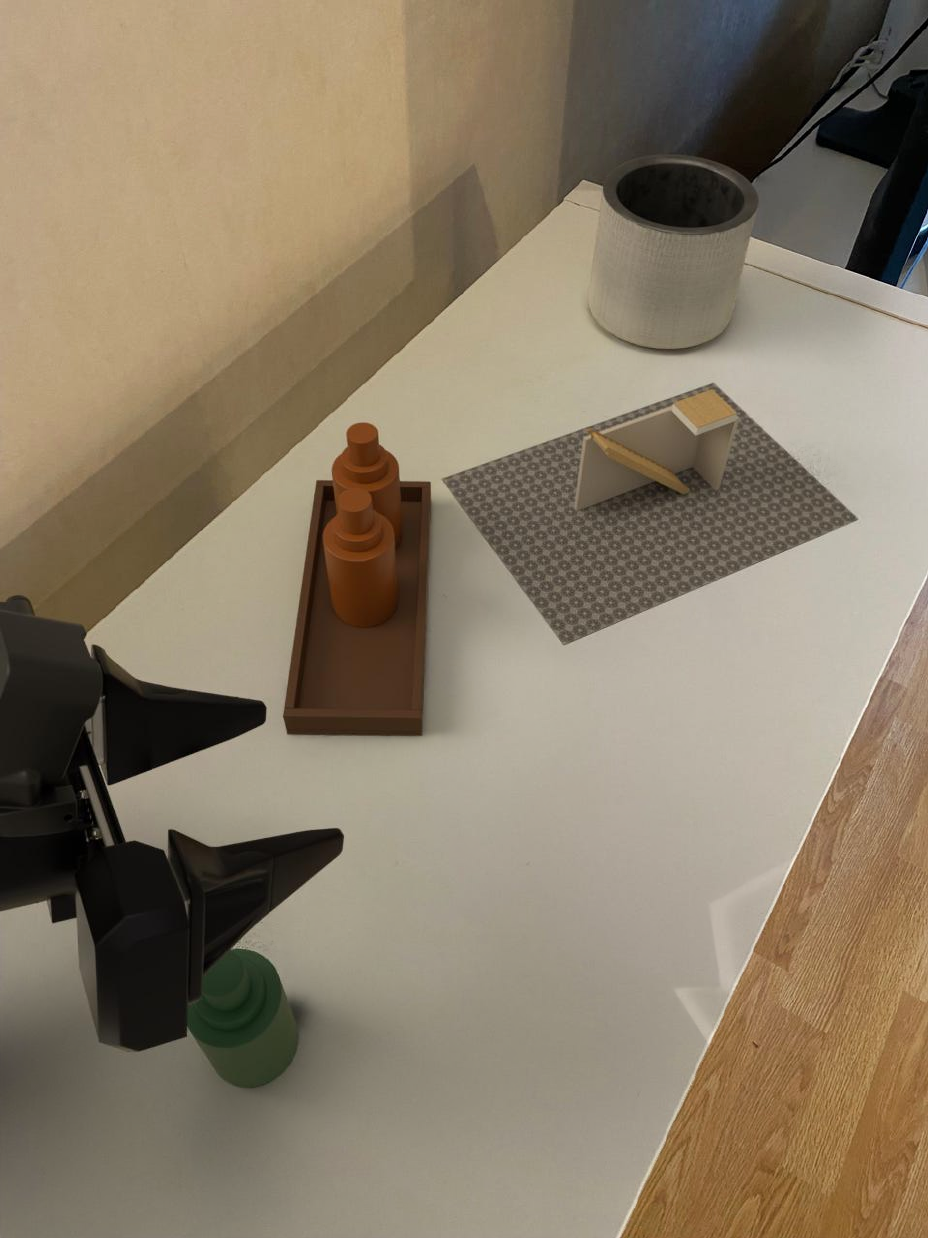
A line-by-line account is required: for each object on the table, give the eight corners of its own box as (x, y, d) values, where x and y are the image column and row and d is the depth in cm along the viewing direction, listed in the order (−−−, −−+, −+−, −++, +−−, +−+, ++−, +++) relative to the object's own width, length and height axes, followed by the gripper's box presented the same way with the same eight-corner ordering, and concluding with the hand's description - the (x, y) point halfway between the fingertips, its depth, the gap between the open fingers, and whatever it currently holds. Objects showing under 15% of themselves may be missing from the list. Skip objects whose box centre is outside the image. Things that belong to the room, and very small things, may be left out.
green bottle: (226, 1105, 48) (185, 1045, 41) (196, 1021, 51) (153, 950, 44) (312, 1060, 50) (287, 995, 42) (279, 981, 52) (251, 905, 45)
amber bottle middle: (348, 637, 66) (335, 535, 58) (321, 591, 68) (306, 488, 61) (409, 613, 67) (404, 510, 60) (381, 568, 69) (373, 465, 62)
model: (719, 489, 75) (742, 407, 69) (597, 536, 72) (611, 455, 66) (693, 462, 77) (714, 380, 71) (573, 508, 74) (584, 426, 68)
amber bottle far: (355, 568, 69) (343, 464, 62) (330, 526, 72) (316, 422, 64) (413, 546, 71) (408, 442, 63) (386, 506, 73) (379, 402, 66)
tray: (422, 736, 62) (421, 717, 60) (287, 734, 62) (282, 716, 60) (431, 501, 74) (430, 481, 73) (319, 499, 74) (316, 479, 73)
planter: (567, 334, 87) (580, 212, 78) (611, 259, 94) (627, 140, 86) (710, 370, 84) (740, 248, 76) (744, 290, 92) (775, 170, 83)
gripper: (-140, 854, 25) (420, 742, 33) (-157, 537, 39) (240, 509, 46) (-89, 1136, 30) (383, 984, 38) (-119, 769, 44) (231, 711, 52)
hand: (300, 771), depth 43 cm, fingers open, 9 cm apart
